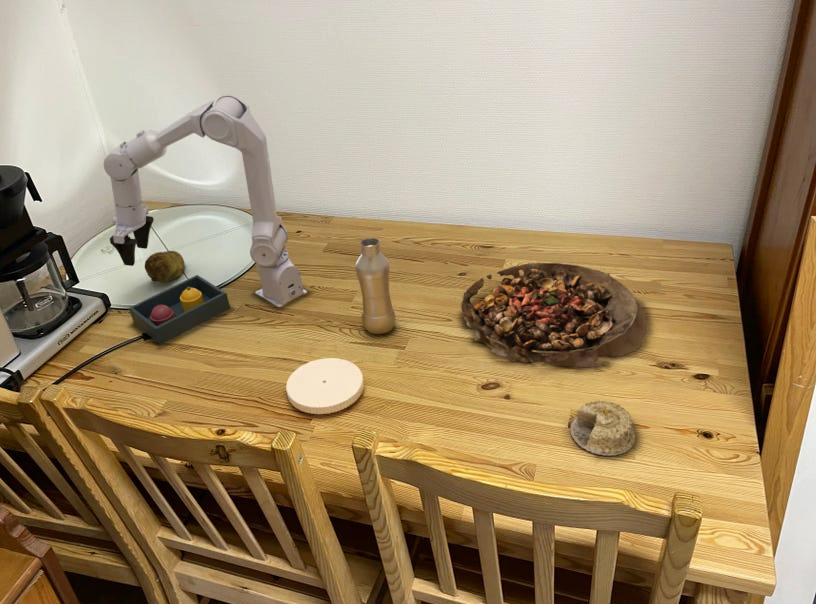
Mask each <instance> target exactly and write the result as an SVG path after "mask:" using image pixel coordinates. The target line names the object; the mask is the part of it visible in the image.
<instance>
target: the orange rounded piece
mask: <svg viewBox="0 0 816 604" xmlns="http://www.w3.org/2000/svg"><path fill="white" fill-rule="evenodd" d="M180 301H181V304H182V308H183V311H184V312H186V311H188V310H190V309H192V308H194V307H196V306H198V305H200V304H202V303H204V300H203V296H202V293H201V292H200V291H199V290H197V289H195V288H190V287H187V289H185V290H184V291H183V292H182V295H181V296H180Z"/></svg>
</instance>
